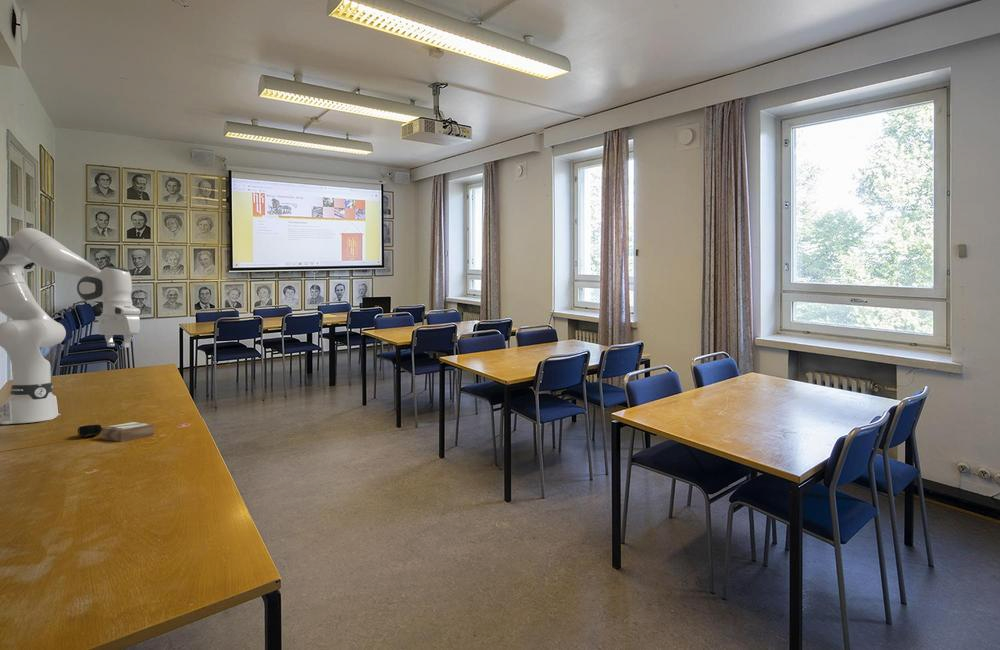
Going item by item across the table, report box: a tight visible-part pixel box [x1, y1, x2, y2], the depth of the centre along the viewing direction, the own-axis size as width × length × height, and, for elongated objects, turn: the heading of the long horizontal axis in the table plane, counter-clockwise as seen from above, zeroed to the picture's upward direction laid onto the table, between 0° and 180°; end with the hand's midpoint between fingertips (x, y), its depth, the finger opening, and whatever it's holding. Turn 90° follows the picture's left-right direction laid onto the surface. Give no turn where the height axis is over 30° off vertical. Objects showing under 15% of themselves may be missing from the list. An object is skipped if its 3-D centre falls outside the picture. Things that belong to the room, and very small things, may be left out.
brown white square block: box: [101, 421, 155, 443], centre depth 187 cm, size 11×11×4 cm
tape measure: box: [77, 424, 103, 438], centre depth 187 cm, size 7×7×4 cm
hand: (118, 347), depth 199 cm, fingers open, 8 cm apart
